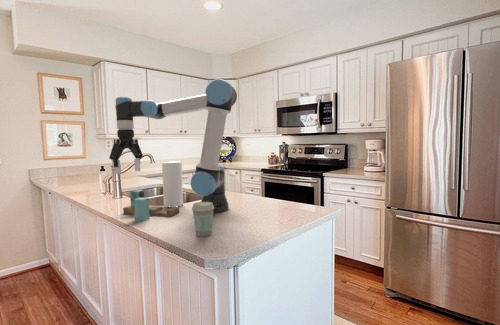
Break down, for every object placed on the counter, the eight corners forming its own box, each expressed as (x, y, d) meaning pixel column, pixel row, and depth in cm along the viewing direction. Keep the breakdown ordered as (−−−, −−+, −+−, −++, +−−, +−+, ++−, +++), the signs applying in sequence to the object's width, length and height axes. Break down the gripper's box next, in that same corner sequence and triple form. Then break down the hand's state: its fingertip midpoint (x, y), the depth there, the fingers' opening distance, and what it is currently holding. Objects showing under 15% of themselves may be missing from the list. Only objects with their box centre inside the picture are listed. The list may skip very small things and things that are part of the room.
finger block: (149, 218, 131) (148, 197, 131) (144, 221, 128) (143, 199, 127) (139, 218, 133) (138, 197, 132) (134, 220, 129) (132, 199, 128)
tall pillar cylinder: (186, 203, 163) (184, 161, 161) (178, 207, 152) (176, 162, 150) (169, 203, 165) (167, 161, 163) (160, 207, 154) (158, 162, 152)
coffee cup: (194, 231, 111) (192, 201, 110) (215, 230, 112) (214, 200, 111) (191, 238, 103) (190, 206, 102) (214, 237, 103) (213, 205, 102)
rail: (179, 212, 141) (178, 190, 140) (171, 216, 134) (170, 193, 134) (132, 210, 149) (131, 189, 148) (123, 213, 142) (122, 191, 141)
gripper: (136, 130, 149) (139, 169, 151) (98, 128, 125) (101, 175, 127) (148, 130, 147) (150, 169, 148) (112, 128, 123) (115, 175, 125)
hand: (128, 172), depth 138 cm, fingers open, 13 cm apart
